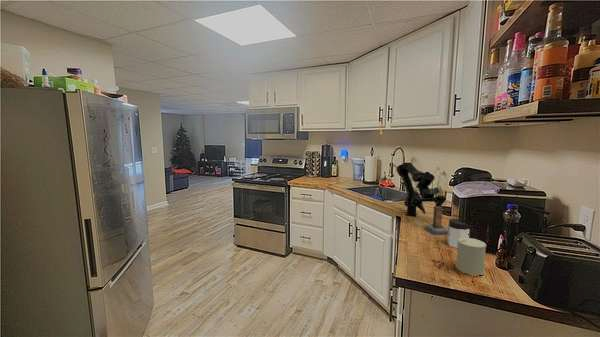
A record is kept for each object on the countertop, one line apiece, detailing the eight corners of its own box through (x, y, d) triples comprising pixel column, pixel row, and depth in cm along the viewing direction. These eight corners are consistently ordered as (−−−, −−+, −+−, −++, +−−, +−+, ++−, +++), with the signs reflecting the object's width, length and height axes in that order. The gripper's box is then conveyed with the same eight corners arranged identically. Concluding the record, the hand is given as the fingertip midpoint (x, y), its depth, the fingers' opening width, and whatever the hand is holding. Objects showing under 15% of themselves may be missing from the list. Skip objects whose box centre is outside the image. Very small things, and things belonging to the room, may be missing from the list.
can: (452, 263, 102) (454, 235, 101) (478, 266, 100) (481, 237, 98) (459, 274, 94) (461, 244, 92) (488, 278, 91) (490, 247, 89)
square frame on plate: (423, 228, 143) (423, 223, 142) (440, 228, 143) (441, 223, 142) (432, 234, 133) (432, 229, 132) (451, 234, 133) (451, 229, 132)
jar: (471, 246, 118) (472, 221, 117) (465, 251, 113) (466, 225, 112) (450, 240, 125) (451, 217, 124) (444, 244, 120) (445, 221, 119)
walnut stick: (432, 228, 139) (433, 206, 138) (438, 228, 139) (439, 206, 138) (435, 230, 136) (436, 207, 135) (441, 230, 136) (442, 207, 135)
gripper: (413, 182, 145) (421, 206, 135) (445, 182, 145) (456, 205, 135) (407, 193, 154) (414, 215, 144) (437, 192, 154) (446, 215, 144)
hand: (432, 213), depth 142 cm, fingers open, 9 cm apart
